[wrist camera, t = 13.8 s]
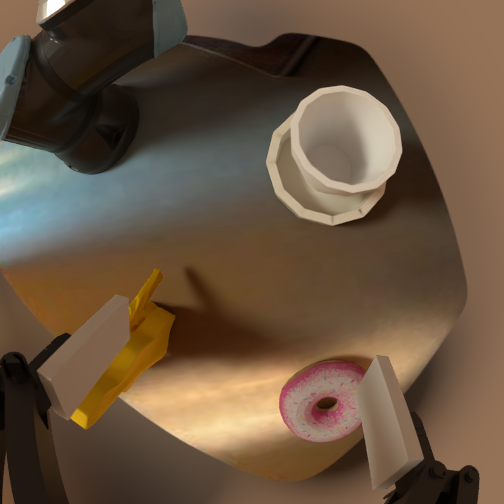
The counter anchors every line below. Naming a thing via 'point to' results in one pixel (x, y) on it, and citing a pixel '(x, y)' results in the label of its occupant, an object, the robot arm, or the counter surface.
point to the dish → (304, 196)
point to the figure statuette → (130, 353)
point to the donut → (319, 387)
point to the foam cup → (344, 141)
